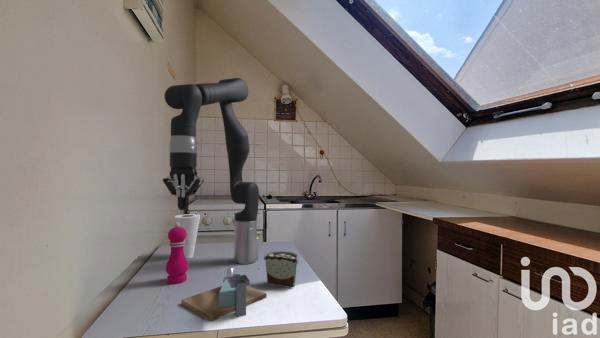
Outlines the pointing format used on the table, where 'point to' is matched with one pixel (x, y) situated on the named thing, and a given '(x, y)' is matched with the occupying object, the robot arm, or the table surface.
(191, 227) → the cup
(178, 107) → the robot arm
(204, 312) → the board
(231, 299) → the teal bar with hole
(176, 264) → the pepper mill
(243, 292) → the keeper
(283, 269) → the food container
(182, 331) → the table surface
